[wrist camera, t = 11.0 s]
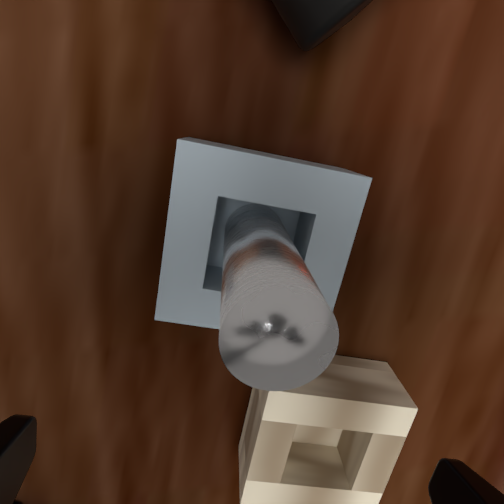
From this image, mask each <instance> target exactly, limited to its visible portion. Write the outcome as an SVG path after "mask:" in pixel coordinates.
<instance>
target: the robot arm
mask: <svg viewBox="0 0 504 504" xmlns="http://www.w3.org/2000/svg"><path fill="white" fill-rule="evenodd" d="M36 431H37V422H36V418H35V417H33V416H27V415H18V414H17V415H13V416H10V417H9V418H7V419H6V420H4V421H2V422H1V423H0V504H17V503H13V502H14V500H15V498H16V496H17V493H18V491H19V489H20V487H21V485H22V482H23V480H24V478H25V476H26V474H27V472H28V469H29V467H30V465H31V463H32V461H33V458H34V455H35V452H36ZM428 491H429V496H430V499H431V502H432V504H504V494H502V493H501V492H500V491H498V490H497V489H496V488H495V487H493V486H492V485H491V484H490V483H488V482H487V481H486V480H485V479H483V478H482V477H481V476H479V475H478V474H477V473H476V472H474V471H473V470H472V469H471V468H469V467H468V466H467V465H465V464H464V463H463V462H462V461H460V460H457V459H448V458H442V459H441V460H439V462H438V464H437V466H436V468H435V470H434V473H433V475H432V477H431V479H430V482H429V486H428Z"/></svg>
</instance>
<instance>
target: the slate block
mask: <svg viewBox="0 0 504 504" xmlns="http://www.w3.org/2000/svg"><path fill="white" fill-rule="evenodd" d="M371 181H372V178H370V177H368V176H365V175H362V174H359V173H356V172H353V171H350V170H347V169H344V168H339V167H335V166H330V165H325V164H320V163H315V162H310V161H305V160H300V159H295V158H290V157H285V156H280V155H275V154H270V153H265V152H260V151H256V150H251V149H246V148H241V147H236V146H231V145H226V144H221V143H216V142H211V141H206V140H201V139H196V138H191V137H186V138H180V139H177V146H176V153H175V161H174V169H173V177H172V185H171V193H170V201H169V209H168V217H167V225H166V233H165V240H164V248H163V256H162V264H161V272H160V280H159V288H158V296H157V304H156V312H155V320H159V321H166V322H173V323H180V324H187V325H193V326H200V327H207V328H214V329H219V327H220V307H221V288H222V269H223V250H224V231H225V225H226V222H227V220H228V218H229V216H230V215H231V214H232V213H233V212H234V211H235V210H236V209H238V208H239V207H241V206H244V205H247V204H262V205H265V206H267V207H269V208H271V209H272V210H273V211H274V212H275V213H276V214H277V215H278V216H279V218H280V220H281V222H282V223H283V225H284V227H285V229H286V230H287V232H288V234H289V236H290V238H291V239H292V241H293V243H294V245H295V246H296V248H297V250H298V252H299V254H300V255H301V257H302V259H303V261H304V262H305V264H306V266H307V268H308V270H309V271H310V273H311V275H312V277H313V278H314V280H315V282H316V284H317V286H318V287H319V289H320V291H321V293H322V294H323V296H324V298H325V300H326V302H327V303H328V305H329V307H330V309H331V310H332V312H333V309H334V305H335V302H336V299H337V295H338V292H339V288H340V285H341V282H342V278H343V275H344V272H345V268H346V265H347V262H348V258H349V255H350V251H351V248H352V245H353V241H354V238H355V235H356V231H357V228H358V225H359V221H360V218H361V214H362V211H363V208H364V204H365V201H366V198H367V194H368V191H369V187H370V184H371Z"/></svg>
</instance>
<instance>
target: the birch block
mask: <svg viewBox="0 0 504 504" xmlns="http://www.w3.org/2000/svg"><path fill="white" fill-rule="evenodd" d="M417 410H418V408H417V406H416V405H415V403H414V402H413V400H412V399H411V397H410V396H409V394H408V393H407V391H406V390H405V388H404V387H403V386H402V384H401V383H400V381H399V380H398V378H397V377H396V375H395V374H394V372H393V371H392V369H391V368H390V366H389V365H388V363H387V362H382V361H375V360H368V359H360V358H353V357H346V356H339V355H335V356H334V358H333V359H332V361H331V363H330V364H329V365H328V367H327V368H326V369H325V370H324V371H323V372H322V373H321V374H320V375H319V376H318V377H317V378H315V379H314V380H312V381H311V382H309V383H307V384H305V385H303V386H300V387H297V388H294V389H290V390H284V391H266V390H260V389H257V388H252V392H251V396H250V401H249V405H248V409H247V413H246V417H245V422H244V426H243V430H242V434H241V438H240V443H239V486H240V504H379V501H380V499H381V496H382V494H383V492H384V489H385V487H386V484H387V482H388V480H389V477H390V475H391V473H392V470H393V468H394V465H395V463H396V461H397V458H398V456H399V453H400V451H401V449H402V446H403V444H404V441H405V439H406V437H407V434H408V432H409V430H410V427H411V425H412V422H413V420H414V418H415V415H416V413H417Z"/></svg>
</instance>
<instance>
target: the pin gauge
mask: <svg viewBox="0 0 504 504" xmlns="http://www.w3.org/2000/svg"><path fill="white" fill-rule="evenodd" d="M338 342H339V329H338V324H337V321H336V318H335V316H334V314H333V312H332V310H331V309H330V307H329V305H328V303H327V302H326V300H325V298H324V296H323V294H322V293H321V291H320V289H319V287H318V286H317V284H316V282H315V280H314V278H313V277H312V275H311V273H310V271H309V270H308V268H307V266H306V264H305V262H304V261H303V259H302V257H301V255H300V254H299V252H298V250H297V248H296V246H295V245H294V243H293V241H292V239H291V238H290V236H289V234H288V232H287V230H286V229H285V227H284V225H283V223H282V222H281V220H280V218H279V216H278V215H277V214H276V213H275V212H274V211H273V210H272V209H271V208H269V207H267V206H265V205H262V204H247V205H244V206H241V207H239V208H238V209H236V210H235V211H234V212H233V213H232V214H231V215H230V216H229V218H228V220H227V222H226V225H225V231H224V250H223V269H222V288H221V307H220V327H219V349H220V354H221V357H222V360H223V362H224V364H225V366H226V367H227V368H228V370H229V371H230V372H231V373H232V374H233V375H234V376H235V377H236V378H237V379H238V380H240V381H241V382H243V383H245V384H246V385H249V386H251V387H253V388H257V389H260V390H266V391H284V390H290V389H294V388H297V387H300V386H303V385H305V384H307V383H309V382H311V381H312V380H314V379H315V378H317V377H318V376H319V375H320V374H321V373H322V372H323V371H324V370H325V369H326V368H327V367H328V365H329V364H330V363H331V361H332V359H333V358H334V356H335V353H336V350H337V347H338Z"/></svg>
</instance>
